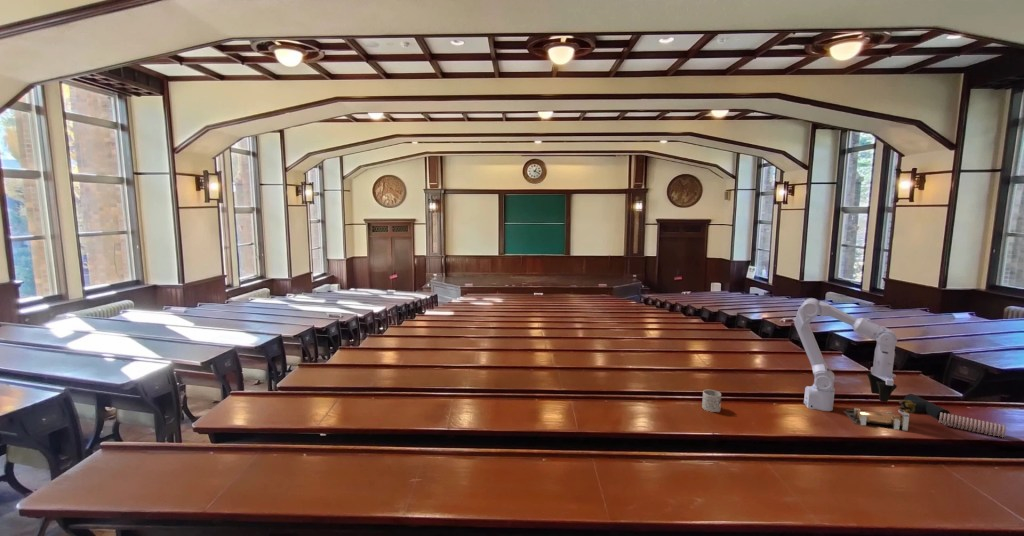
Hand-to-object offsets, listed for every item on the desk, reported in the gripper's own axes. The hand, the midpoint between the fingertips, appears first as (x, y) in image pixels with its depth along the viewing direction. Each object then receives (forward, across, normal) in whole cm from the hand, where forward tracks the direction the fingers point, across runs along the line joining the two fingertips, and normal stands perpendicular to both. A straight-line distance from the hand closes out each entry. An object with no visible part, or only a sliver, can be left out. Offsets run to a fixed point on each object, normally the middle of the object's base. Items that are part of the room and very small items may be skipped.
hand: (879, 397), depth 173 cm
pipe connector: (+10, +15, -18) cm, 26 cm away
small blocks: (+10, -4, +2) cm, 11 cm away
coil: (+10, +4, -29) cm, 31 cm away
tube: (+8, -4, 0) cm, 9 cm away
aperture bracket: (+8, -5, -6) cm, 12 cm away
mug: (+10, -8, +58) cm, 59 cm away
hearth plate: (+10, -2, +1) cm, 10 cm away
